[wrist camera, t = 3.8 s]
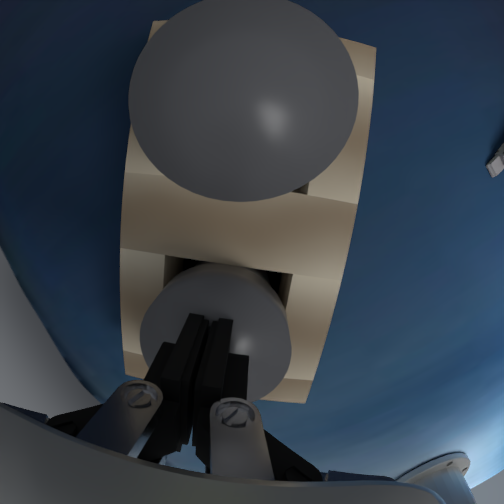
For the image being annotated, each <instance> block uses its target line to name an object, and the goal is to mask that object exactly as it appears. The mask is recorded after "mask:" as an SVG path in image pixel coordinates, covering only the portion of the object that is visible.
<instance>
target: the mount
mask: <svg viewBox="0 0 504 504" xmlns="http://www.w3.org/2000/svg"><path fill="white" fill-rule="evenodd" d="M167 21H168V20H165V21H153V24H152V28H151V31H150V35H149V39H148V41H149V40H150V38H151V37H152V36H153V35H154V33H155V32H156V31H157V30H158V29H159V28H160V27H161V26H162V25H163V24H164V23H166V22H167ZM339 39H340V40H341V41H342V43H343V44H344V46H345V48H346V49H347V51H348V53H349V55H350V58H351V60H352V62H353V65H354V68H355V72H356V76H357V81H358V90H359V100H358V110H357V116H356V121H355V124H354V126H353V129H352V132H351V135H350V137H349V139H348V140H347V142H346V144H345V146H344V148H343V149H342V151H341V152H340V153H339V155H338V156H337V158H336V159H335V160H334V161H333V162H332V163H331V164H330V165H329V166H328V167H327V169H326V170H324V171H323V172H322V173H321V174H319V175H318V176H317V177H316V178H315V179H313V180H311V181H310V182H308V183H307V184H305V185H303V186H302V187H300V188H298V189H296V190H293V191H291V192H289V193H287V194H284V195H280V196H277V197H274V198H271V199H265V200H259V201H250V202H232V201H221V200H216V199H211V198H207V197H204V196H201V195H198V194H195V193H193V192H191V191H189V190H187V189H184V188H182V187H180V186H179V185H177V184H176V183H174V182H173V181H171V180H170V179H168V178H167V177H166V176H165V175H164V174H162V173H161V172H160V171H159V170H158V169H157V168H156V167H155V166H154V165H153V164H152V162H151V161H150V160H149V159H148V158H147V156H146V155H145V153H144V152H143V150H142V149H141V147H140V145H139V143H138V141H137V139H136V136H135V134H134V131H133V128H132V124H131V127H130V134H129V141H128V148H127V157H126V165H125V175H124V186H123V198H122V214H121V235H120V306H121V327H122V342H123V354H124V365H125V374H126V375H130V376H133V377H137V378H141V379H144V378H145V376H146V374H147V372H148V370H149V367H148V366H147V364H146V362H145V360H144V357H143V355H142V351H141V347H140V328H141V323H142V320H143V317H144V315H145V313H146V311H147V310H148V308H149V307H150V305H151V304H152V303H153V301H154V300H155V299H156V297H157V296H158V295H159V294H160V292H161V291H162V290H163V288H164V287H165V286H166V285H167V284H168V282H169V281H170V280H172V279H173V278H174V277H175V276H176V275H178V274H180V273H181V272H183V265H184V258H188V259H194V260H201V261H207V262H214V263H221V264H228V265H234V266H241V267H248V268H254V269H261V270H268V271H275V272H282V274H281V279H280V285H279V290H278V296H279V298H280V299H281V301H282V304H283V306H284V308H285V311H286V315H287V321H288V327H289V333H290V340H291V346H292V354H291V361H290V365H289V368H288V371H287V373H286V374H285V376H284V378H283V379H282V381H281V382H280V384H279V385H278V386H277V387H276V388H275V389H274V390H273V391H271V392H270V393H269V394H267V395H266V396H264V397H263V398H261V399H259V400H269V401H280V402H293V403H305V402H306V399H307V397H308V394H309V391H310V388H311V385H312V382H313V379H314V376H315V372H316V369H317V366H318V363H319V360H320V357H321V353H322V350H323V347H324V343H325V340H326V336H327V333H328V329H329V326H330V322H331V319H332V315H333V311H334V308H335V304H336V300H337V296H338V292H339V288H340V284H341V280H342V276H343V272H344V268H345V263H346V259H347V254H348V250H349V245H350V241H351V236H352V231H353V226H354V221H355V216H356V211H357V205H358V200H359V194H360V188H361V182H362V176H363V170H364V164H365V157H366V150H367V142H368V135H369V127H370V118H371V109H372V99H373V88H374V75H375V61H376V48H375V47H372V46H368V45H365V44H362V43H358V42H355V41H351V40H347V39H343V38H339Z"/></svg>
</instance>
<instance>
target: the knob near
mask: <svg viewBox="0 0 504 504" xmlns="http://www.w3.org/2000/svg"><path fill="white" fill-rule="evenodd" d="M358 100H359V90H358V81H357V76H356V72H355V68H354V65H353V62H352V60H351V58H350V55H349V53H348V51H347V49H346V48H345V46H344V44H343V43H342V41H341V40H340V39H339V37H338V36H337V35H336V34H335V32H334V31H333V30H332V29H331V28H330V27H329V26H328V25H327V24H326V23H325V22H324V21H323V20H321V19H320V18H319V17H317V16H316V15H315V14H313V13H312V12H310V11H309V10H307V9H305V8H303V7H301V6H300V5H297V4H295V3H293V2H290V1H288V0H204V1H201V2H198V3H196V4H194V5H192V6H190V7H188V8H186V9H184V10H183V11H181V12H179V13H178V14H176V15H175V16H173V17H172V18H171V19H169V20H168V21H167V22H166V23H164V24H163V25H162V26H161V27H160V28H159V29H158V30H157V31H156V32H155V33H154V35H153V36H152V37H151V38H150V40H149V41H148V42H147V44H146V45H145V47H144V48H143V50H142V52H141V54H140V55H139V57H138V60H137V62H136V64H135V67H134V70H133V73H132V77H131V80H130V87H129V114H130V121H131V124H132V128H133V131H134V134H135V136H136V139H137V141H138V143H139V145H140V147H141V149H142V150H143V152H144V153H145V155H146V156H147V158H148V159H149V160H150V161H151V162H152V164H153V165H154V166H155V167H156V168H157V169H158V170H159V171H160V172H161V173H162V174H164V175H165V176H166V177H167V178H168V179H170V180H171V181H173V182H174V183H176V184H177V185H179V186H180V187H182V188H184V189H187V190H189V191H191V192H193V193H195V194H198V195H201V196H204V197H207V198H211V199H216V200H221V201H232V202H250V201H259V200H265V199H271V198H274V197H277V196H280V195H284V194H287V193H289V192H291V191H293V190H296V189H298V188H300V187H302V186H303V185H305V184H307V183H308V182H310V181H311V180H313V179H315V178H316V177H317V176H318V175H319V174H321V173H322V172H323V171H324V170H326V169H327V167H328V166H329V165H330V164H331V163H332V162H333V161H334V160H335V159H336V158H337V156H338V155H339V153H340V152H341V151H342V149H343V148H344V146H345V144H346V142H347V140H348V139H349V137H350V135H351V132H352V129H353V126H354V124H355V121H356V116H357V110H358Z"/></svg>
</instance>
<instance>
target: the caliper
mask: <svg viewBox="0 0 504 504" xmlns="http://www.w3.org/2000/svg"><path fill="white" fill-rule="evenodd" d="M486 167H487V169H488V171H489V173H490V175H491V177H492V178H493V177H495V176H497V175H498V174H499V173H500V172H501V171H502V170H503V169H504V143H503V144H502V145H501V147H500V148H499V149H498V151H497V152H496V153H495V156H494V157H493V158H492V159H491V160H490V161H489V162H488V163H487V165H486Z"/></svg>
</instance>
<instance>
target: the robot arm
mask: <svg viewBox="0 0 504 504" xmlns="http://www.w3.org/2000/svg"><path fill="white" fill-rule="evenodd" d="M208 327H209V320H207V319H204V315H200V314H194V313H189V315H188V317H187V319H186V322H185V324H184V326H183V328H182V330H181V333H180V335H179V337H178V339H177V341H176V344H175V343H170V342H163V343H162V345H161V347H160V349H159V351H158V352H157V354H156V356H155V358H154V360H153V362H152V364H151V366H150V368H149V370H148V372H147V374H146V376H145V378H144V380H132V381H128V382H125V383H123V384H122V385H120V386H119V387H118V388H117V389H116V391H115V392H114V393H113V394H112V395H111V396H110V397H109V399H108V400H107V401H106V402H105V403H104V404H101V405H97V406H93V407H89V408H85V409H82V410H77V411H73V412H69V413H65V414H61V415H57V416H54V417H52V418H51V419H50V418H48V416H47V415H46V414H42V413H38V412H34V411H30V410H26V409H23V408H19V407H15V406H12V405H9V404H5V403H1V402H0V504H477V503H476V501H475V499H474V496H473V494H472V492H471V490H470V488H469V486H468V484H467V482H466V480H465V478H464V475H465V474H466V472H467V471H468V469H469V466H470V460H469V458H468V456H467V455H466V454H463V453H454V454H449V455H446V456H443V457H439V458H437V459H435V460H432V461H430V462H428V463H426V464H424V465H421V466H420V467H418V468H416V469H414V470H412V471H410V472H409V473H407V474H405V475H404V476H402V477H401V478H399V479H398V480H394V479H392V478H390V477H385V476H374V475H362V474H353V473H345V472H337V471H330V470H329V471H328V473H323V472H319V470H318V469H317V468H316V467H315V466H313V465H312V464H310V463H309V462H308V461H306V460H305V459H303V458H302V457H300V456H299V455H298V454H296V453H295V452H293V451H292V450H291V449H289V448H288V447H287V446H285V445H284V444H283V443H281V442H280V441H279V440H277V439H276V438H275V437H273V436H272V435H271V434H269V433H268V432H267V431H266V430H264V429H263V425H262V420H261V415H260V412H259V410H258V408H257V407H256V406H255V405H254V404H252V403H251V402H249V401H247V386H248V369H249V355H242V354H235V353H229V350H230V342H231V335H232V327H233V320H231V319H225V318H219V320H218V321H213V322H212V326H211V329H210V333H209V336H208ZM207 338H208V339H207ZM192 426H193V435H192V446H196V456H197V457H198V458H199V459H200V460H201V461H202V462H203V463H204V464H205V473H200V472H194V471H189V470H184V469H179V468H174V467H169V466H165V465H164V464H165V462H166V459H167V455H168V454H170V453H173V452H175V451H178V452H180V450H181V447H182V444H185V445H188V442H189V438H190V434H191V430H192Z"/></svg>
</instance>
